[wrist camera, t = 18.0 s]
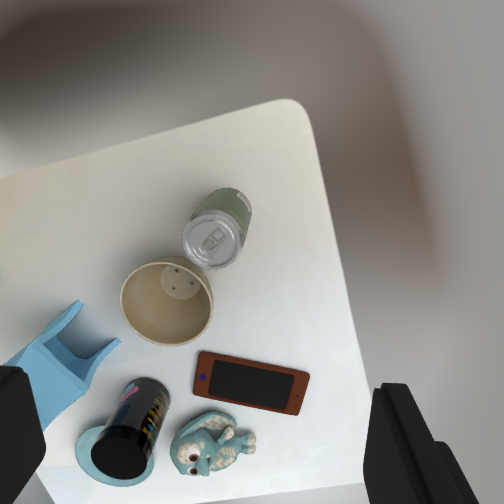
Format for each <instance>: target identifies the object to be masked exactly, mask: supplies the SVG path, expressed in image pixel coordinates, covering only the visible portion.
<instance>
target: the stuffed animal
mask: <svg viewBox="0 0 504 504" xmlns="http://www.w3.org/2000/svg"><path fill="white" fill-rule="evenodd" d="M236 425H237V423H236V421H235V420H234V419H233V418H231V417H229V416H228V415H226V414H224V413H220V412H216V411H212V412H209V413H206V414H204V415H202V416H200V417H198V418H196V419H194V420H192V421H191V422H190V423H188V424H187V425H186V426H184V428H182V429H181V430H180V431H179V432H177V433H176V435H175V437H174V438H173V440H172V443H171V446H170V456H171V459H172V461H173V463H174V465H175V466H176V468H177V469H178V470H179V472H180V473H181V474H183V475H185V474H187V475H192V476H197V475H202V476H208V475H209V472H210V471H218V470H221V469H224V468H227V467H228V466H229V465H231V464H232V463H233V462H235V461H236V459H237V455H238V454H239V453H244V454H253V453H254V452H255V450H256V446H255V442H256V437H255V435H254V433H248V434H245V435H243V436H242V437H238V436H236V435H234V429H233V428H232V427H235V426H236ZM206 428H208V429H211V430H219V429H225V428H226V429H225V430H224V432H223V433H222V435H221V437H220V438H219V439H218V440H214V439H213V438H212V437H211V435H210V433H209V432H208V431H207V429H206Z"/></svg>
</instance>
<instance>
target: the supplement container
mask: <svg viewBox="0 0 504 504" xmlns="http://www.w3.org/2000/svg"><path fill="white" fill-rule="evenodd" d="M169 406H170V395H169V393H168V391H167V389H166V388H165V387H164V386H163V385H162V384H161V383H159V382H158V381H155V380H152V379H146V378H143V379H138V380H135V381H133V382H131V383H130V384H129V385H128V386H127V387H126V389H125V391H124V392H123V394H122V396H121V398H120V399H119V401H118V403H117V405H116V406H115V408H114V410H113V412H112V414H111V415H110V417H109V419H108V421H107V422H106V424H105V426H104V428H103V429H102V431H101V433H100V434H99V435H98V437H97V439H96V441H95V443H94V445H93V447H92V449H91V459H92V462H93V464H94V465H95V467H96V468H97V469H98V470H99V471H100V472H102V473H103V474H105V475H107V476H109V477H111V478H114V479H119V480H130V479H134V478H137V477H139V476H141V475H142V474H143V473H144V472H145V470H146V468H147V465H148V462H149V460H150V458H151V455H152V451H153V448H154V446H155V443H156V441H157V438H158V435H159V433H160V430H161V427H162V425H163V422H164V419H165V417H166V414H167V411H168V409H169Z"/></svg>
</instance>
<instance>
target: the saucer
mask: <svg viewBox="0 0 504 504" xmlns="http://www.w3.org/2000/svg"><path fill="white" fill-rule="evenodd" d="M104 426H105V425H103V426H97V427H94V428H91V429H88V430H87V431H85V432H84V433H83V434H82V435H81V436H80V437H79V438H78V440H77V442H76V446H75V455H76V459H77V462H78V464H79V465H80V467H81V468H82V469H83V470H84V472H85V473H87V474H88V475H89V476H90V477H92V478H93V479H95V480H97V481H99V482H101V483H104V484H107V485H111V486H117V487H128V486H133V485H136V484H139V483H141V482H143V481H144V480H145V479H147V478H148V477H149V475H150V474H151V472H152V471H153V468H154V456H153V453H152V455H151V458H150V460H149V462H148V465H147V468H146V470H145V472H144V473H143V474H142V475H141V476H139V477H137V478H134V479H130V480H119V479H114V478H111V477H109V476H107V475H105V474H103V473H102V472H100V471H99V470H98V469H97V468H96V467H95V465H94V464H93V462H92V459H91V449H92V447H93V445H94V443H95V441H96V439H97V437H98V435H99V434H100V433H101V431H102V429H103V428H104Z"/></svg>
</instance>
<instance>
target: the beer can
mask: <svg viewBox="0 0 504 504" xmlns="http://www.w3.org/2000/svg"><path fill="white" fill-rule="evenodd" d="M251 215H252V213H251V205H250V202H249V200H248V199H247V198H246V196H245V195H244V194H242V193H241V192H240V191H238V190H235V189H232V188H222V189H219V190H216V191H215V192H214V193H212V194H211V195H210V196H209V197H208V198H207V199H206V201H205V202H204V203H203V204H202V205H201V206H200V207H199V208H198V210H197V211H196V212H195V213H194V214H193V215H192V216H191V218H190V219H189V220H188V222H187V223H186V225H185V227H184V231H183V238H182V240H183V248H184V251H185V253H186V255H187V257H188V258H189V259H190V260H191V261H192V262H193V263H194V264H196V265H197V266H199V267H201V268H204V269H207V270H218V269H222V268H225V267H227V266H228V265H230V264H231V263H232V262H234V261H235V260H236V259H237V258H238V256H239V255H240V254H241V251H242V248H243V245H244V241H245V238H246V234H247V230H248V227H249V223H250V219H251Z"/></svg>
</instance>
